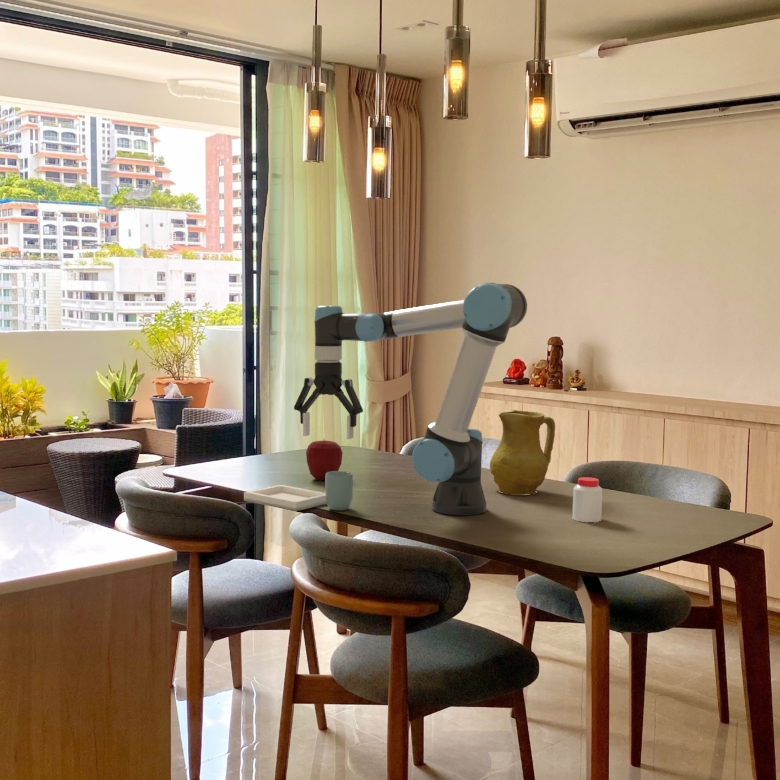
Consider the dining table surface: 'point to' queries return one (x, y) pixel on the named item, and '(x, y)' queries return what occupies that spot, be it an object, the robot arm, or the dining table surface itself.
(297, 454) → the dining table surface
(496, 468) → the pitcher
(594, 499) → the pill bottle
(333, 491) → the cup
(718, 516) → the dining table surface
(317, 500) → the tray
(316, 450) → the apple
